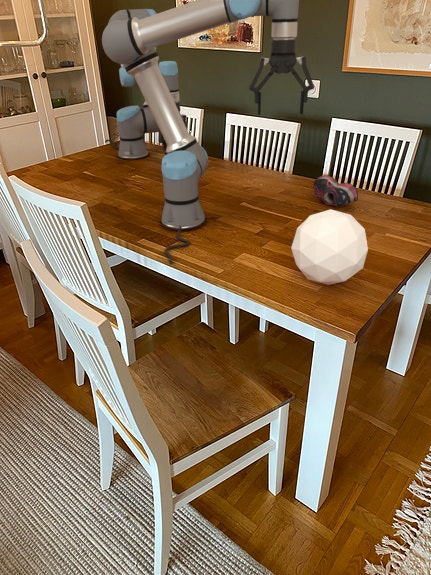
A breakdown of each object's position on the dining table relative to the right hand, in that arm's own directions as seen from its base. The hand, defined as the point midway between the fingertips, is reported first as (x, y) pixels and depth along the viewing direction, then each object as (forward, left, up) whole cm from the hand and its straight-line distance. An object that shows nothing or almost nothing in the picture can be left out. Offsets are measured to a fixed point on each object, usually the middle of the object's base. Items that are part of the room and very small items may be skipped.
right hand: (280, 113), depth 143 cm
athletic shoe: (+4, -22, -34) cm, 41 cm away
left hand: (+54, +32, -27) cm, 68 cm away
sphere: (-48, -1, -34) cm, 59 cm away
